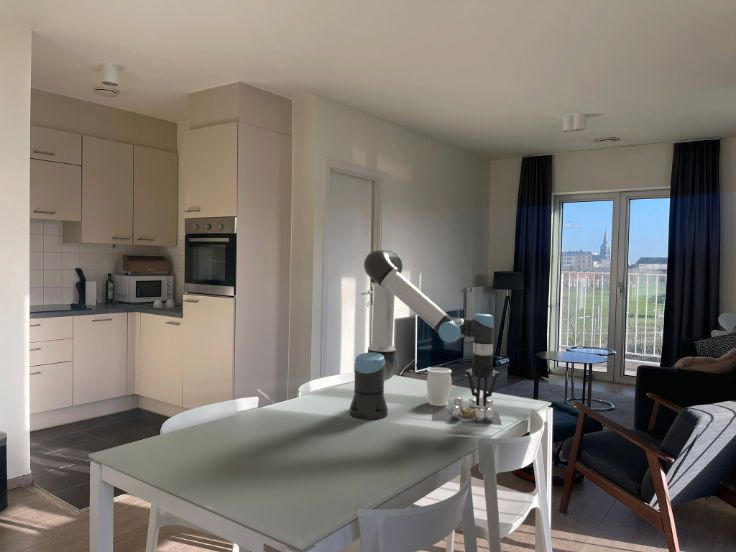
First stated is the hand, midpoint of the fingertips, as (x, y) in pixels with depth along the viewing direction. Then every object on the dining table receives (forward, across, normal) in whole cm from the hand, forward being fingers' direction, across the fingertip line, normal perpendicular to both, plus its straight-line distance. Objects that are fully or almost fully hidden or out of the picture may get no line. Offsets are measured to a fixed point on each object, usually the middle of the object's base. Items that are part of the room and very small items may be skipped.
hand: (480, 413), depth 223 cm
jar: (+2, -17, +17) cm, 24 cm away
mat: (+2, -6, 0) cm, 6 cm away
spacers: (+1, -3, 0) cm, 3 cm away
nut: (+1, -5, 0) cm, 5 cm away
